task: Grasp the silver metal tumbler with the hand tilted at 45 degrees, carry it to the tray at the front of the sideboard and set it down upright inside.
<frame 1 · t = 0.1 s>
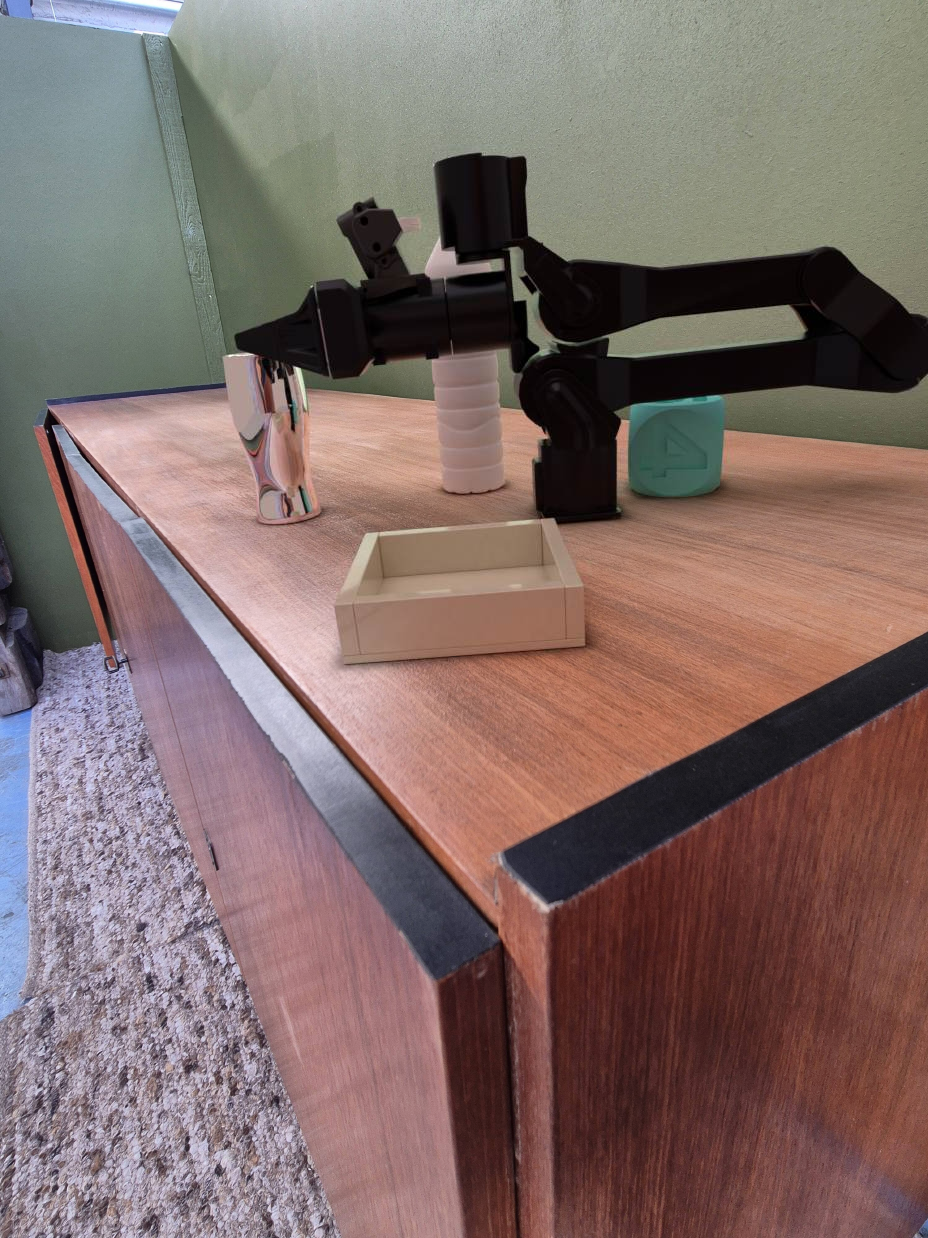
hand: (252, 339, 56), 16 cm above the table, tool horizontal, fingers open, 9 cm apart
water bottle: (463, 489, 74), on the table
silver metal tumbler: (290, 517, 69), on the table
decorative dice: (674, 489, 67), on the table, touching arm
tray: (463, 608, 44), on the table
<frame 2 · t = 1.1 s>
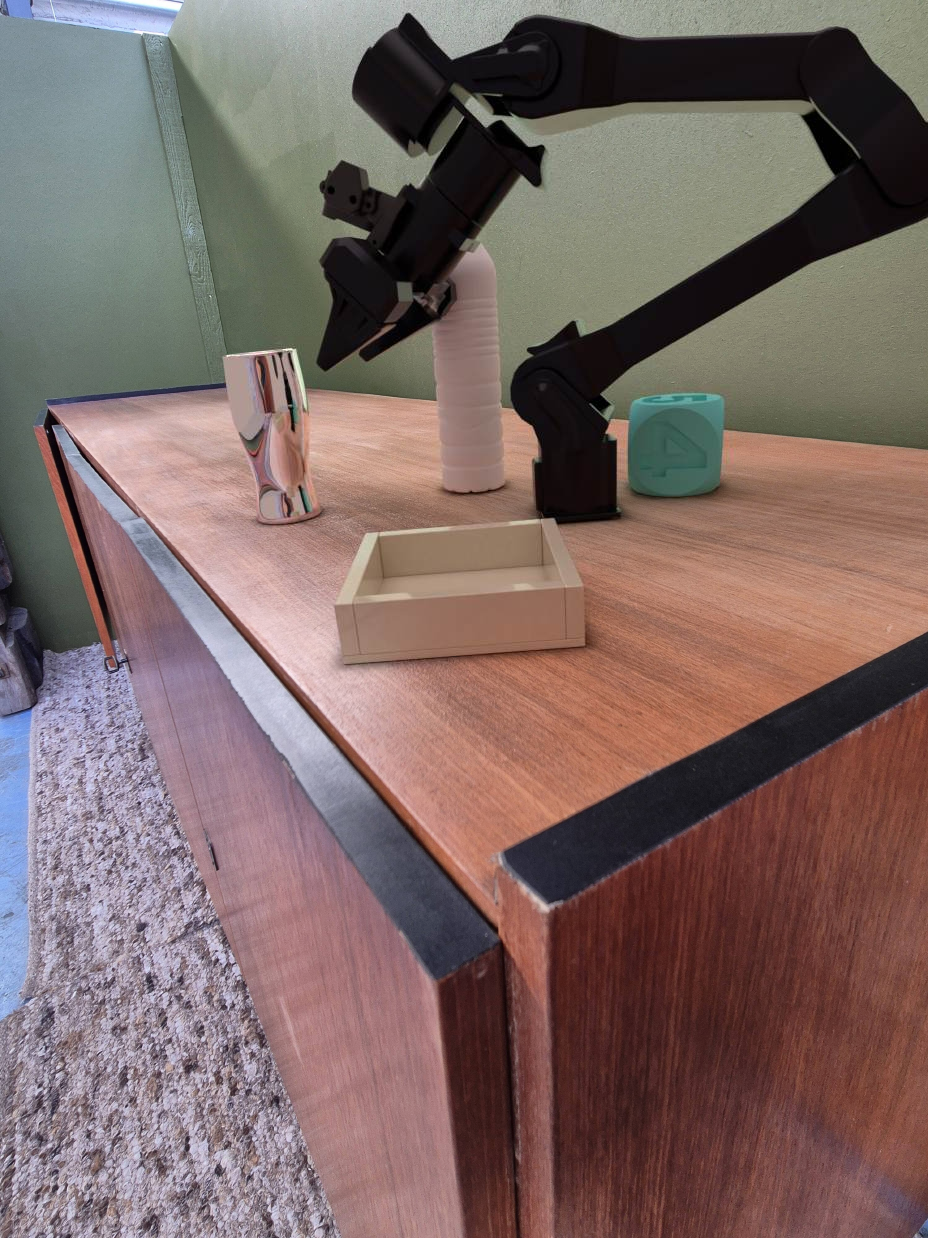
hand: (343, 362, 62), 14 cm above the table, tool tilted 45°, fingers open, 9 cm apart
water bottle: (463, 488, 74), on the table, touching gripper
decorative dice: (674, 488, 67), on the table
everything else where it was.
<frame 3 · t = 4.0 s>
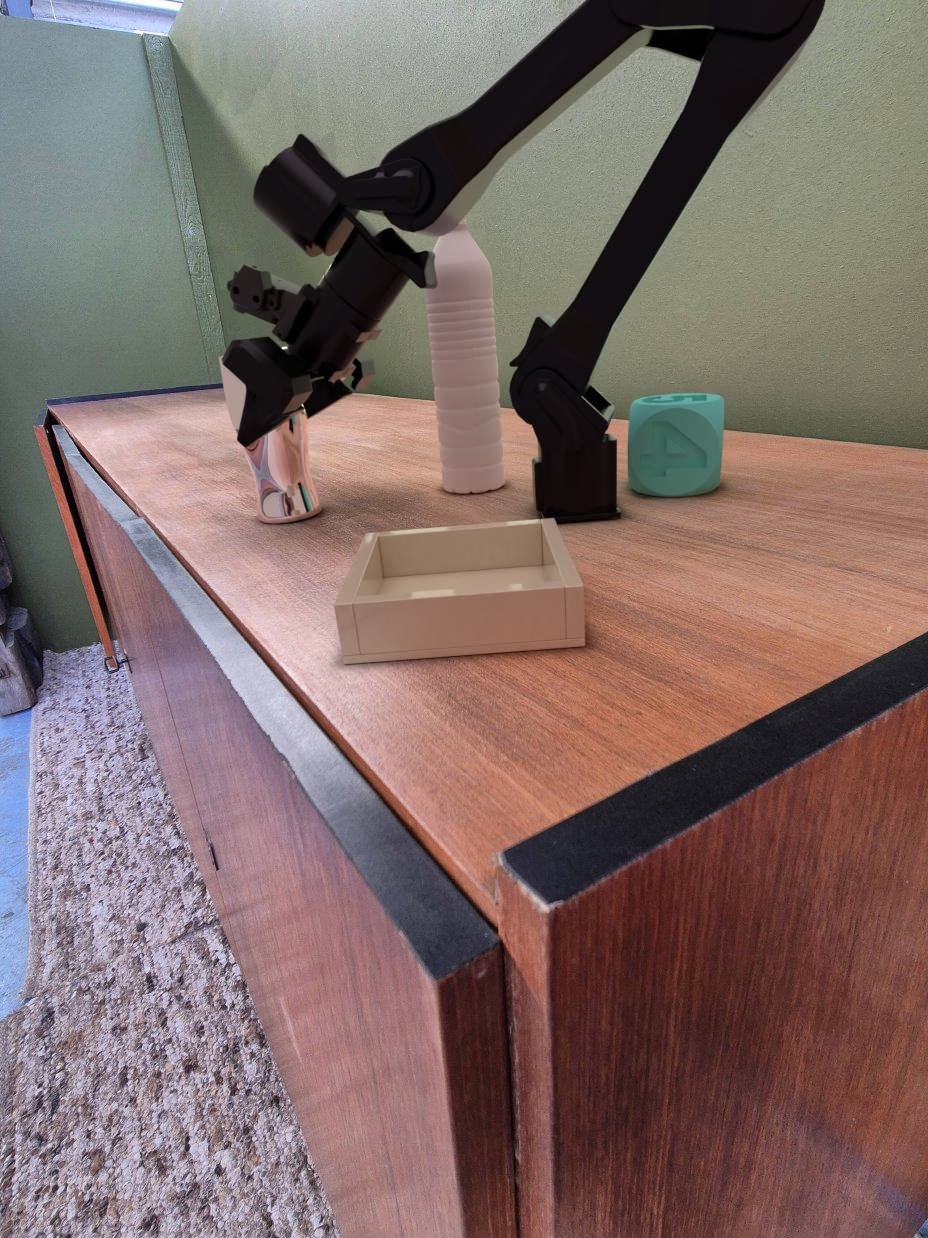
hand: (261, 436, 67), 8 cm above the table, tool tilted 45°, fingers closed on silver metal tumbler, 7 cm apart
water bottle: (463, 489, 74), on the table
silver metal tumbler: (291, 516, 70), on the table, touching gripper
everything else where it was.
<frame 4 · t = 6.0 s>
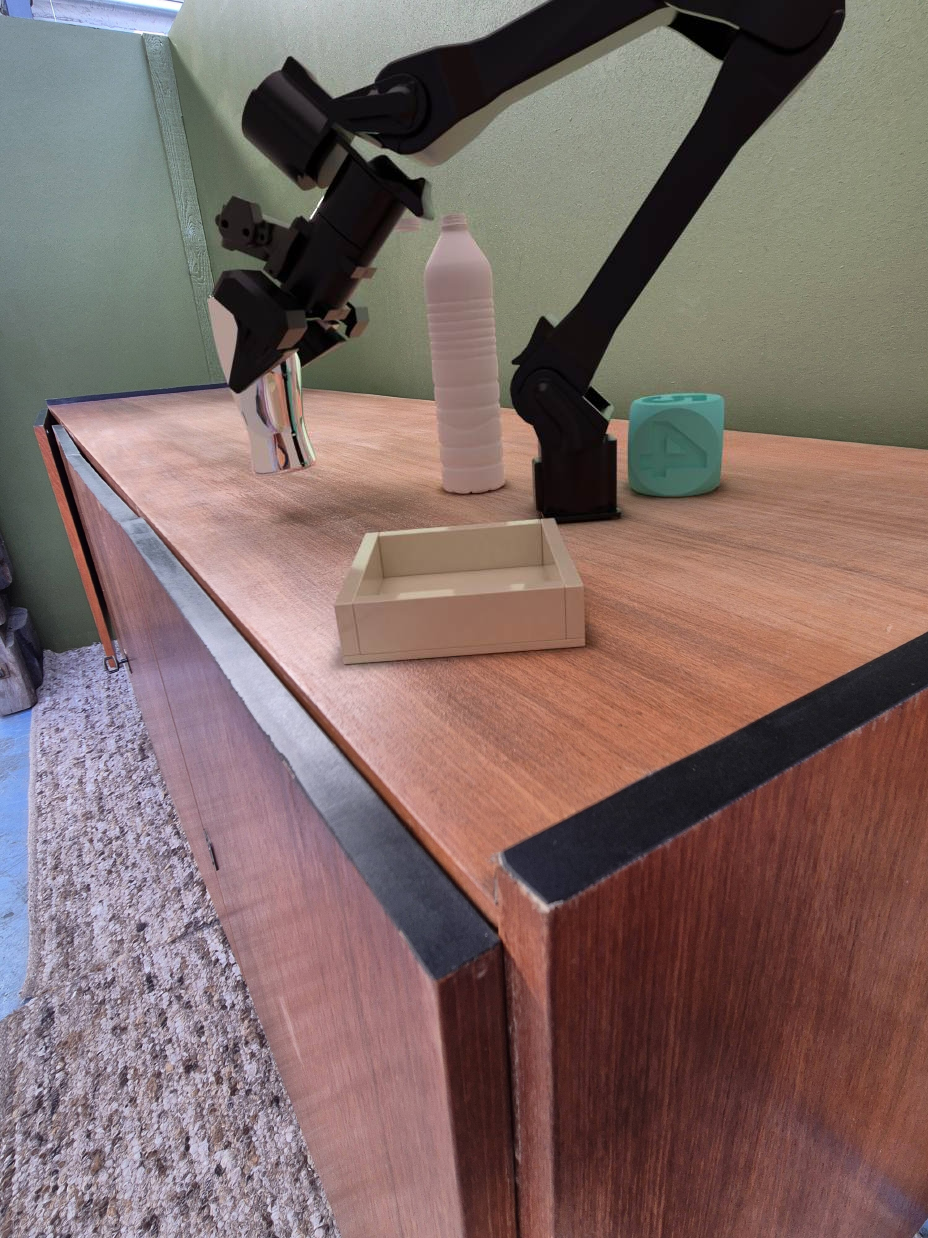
hand: (253, 385, 64), 12 cm above the table, tool tilted 45°, fingers closed on silver metal tumbler, 7 cm apart
silver metal tumbler: (286, 469, 67), point 5 cm above the table, touching gripper
everything else where it was.
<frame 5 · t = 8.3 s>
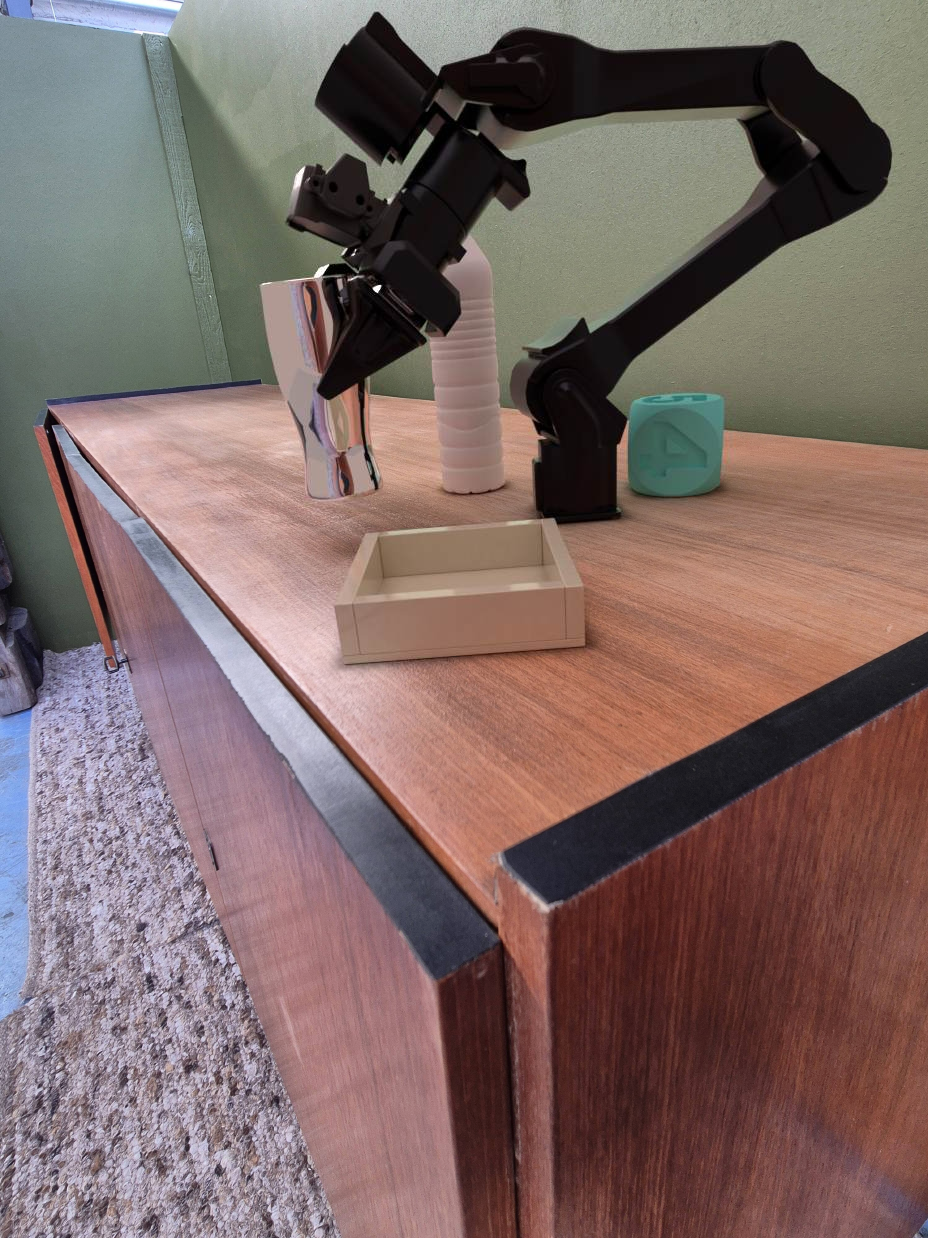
hand: (310, 393, 52), 12 cm above the table, tool tilted 45°, fingers closed on silver metal tumbler, 7 cm apart
silver metal tumbler: (345, 493, 56), point 5 cm above the table, touching gripper
everything else where it was.
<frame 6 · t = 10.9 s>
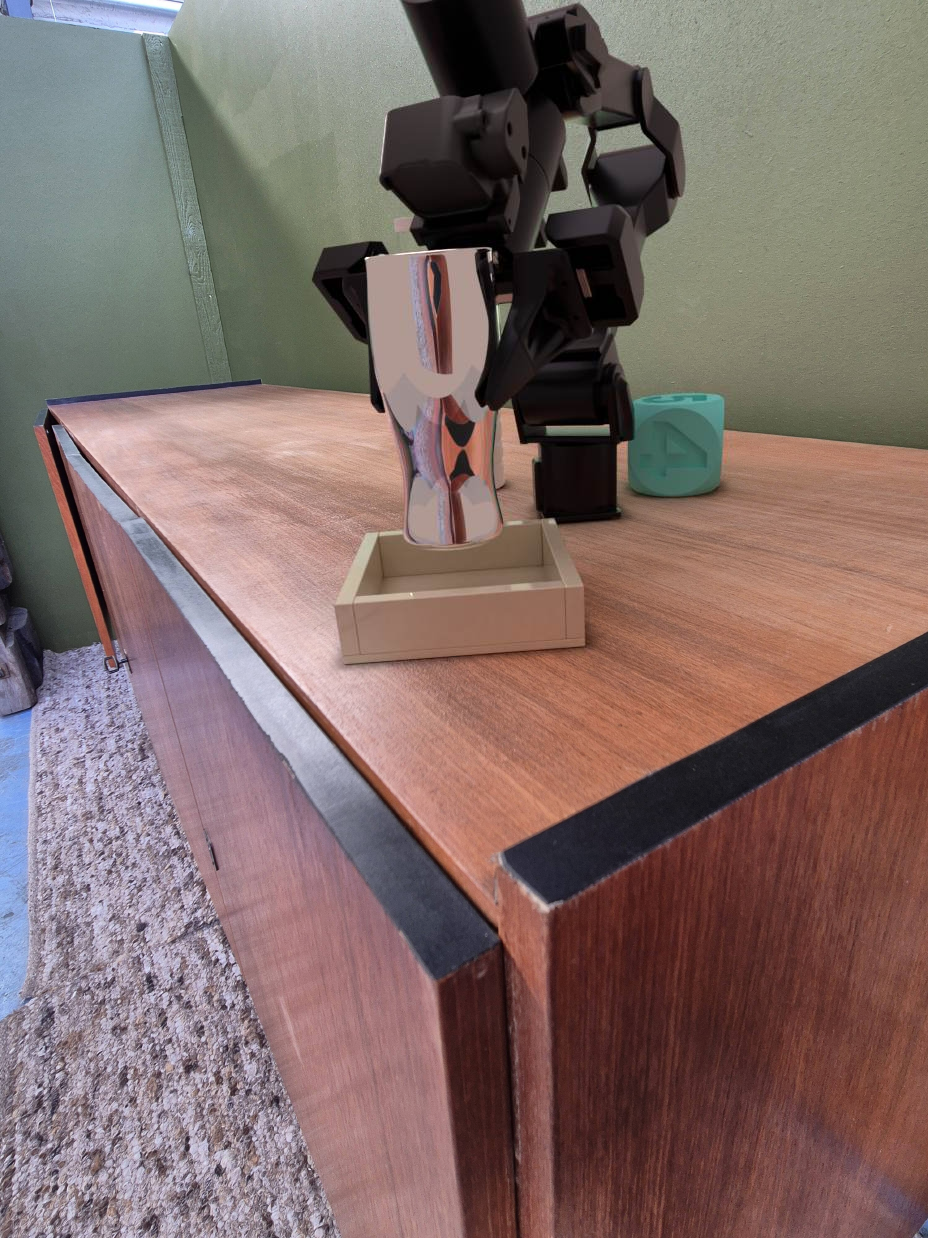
hand: (431, 407, 38), 12 cm above the table, tool tilted 45°, fingers closed on silver metal tumbler, 7 cm apart
silver metal tumbler: (453, 536, 43), point 5 cm above the table, touching gripper
everything else where it was.
when the fingers open (8 cm above the table, at t = 12.8 s): silver metal tumbler stays where it is, resting on tray.
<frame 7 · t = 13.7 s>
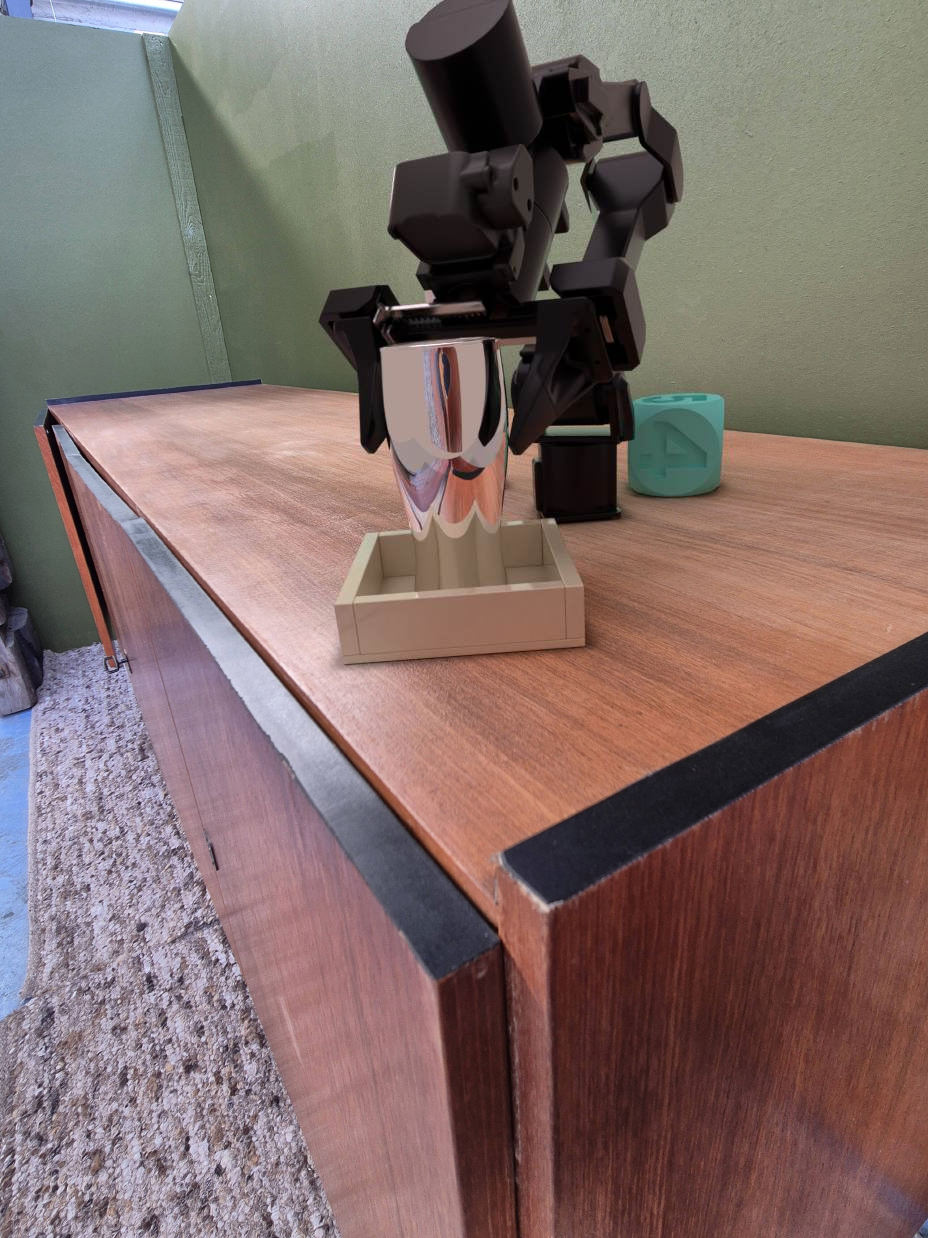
hand: (436, 450, 39), 10 cm above the table, tool tilted 45°, fingers open, 9 cm apart
silver metal tumbler: (462, 602, 44), resting on tray
everything else where it was.
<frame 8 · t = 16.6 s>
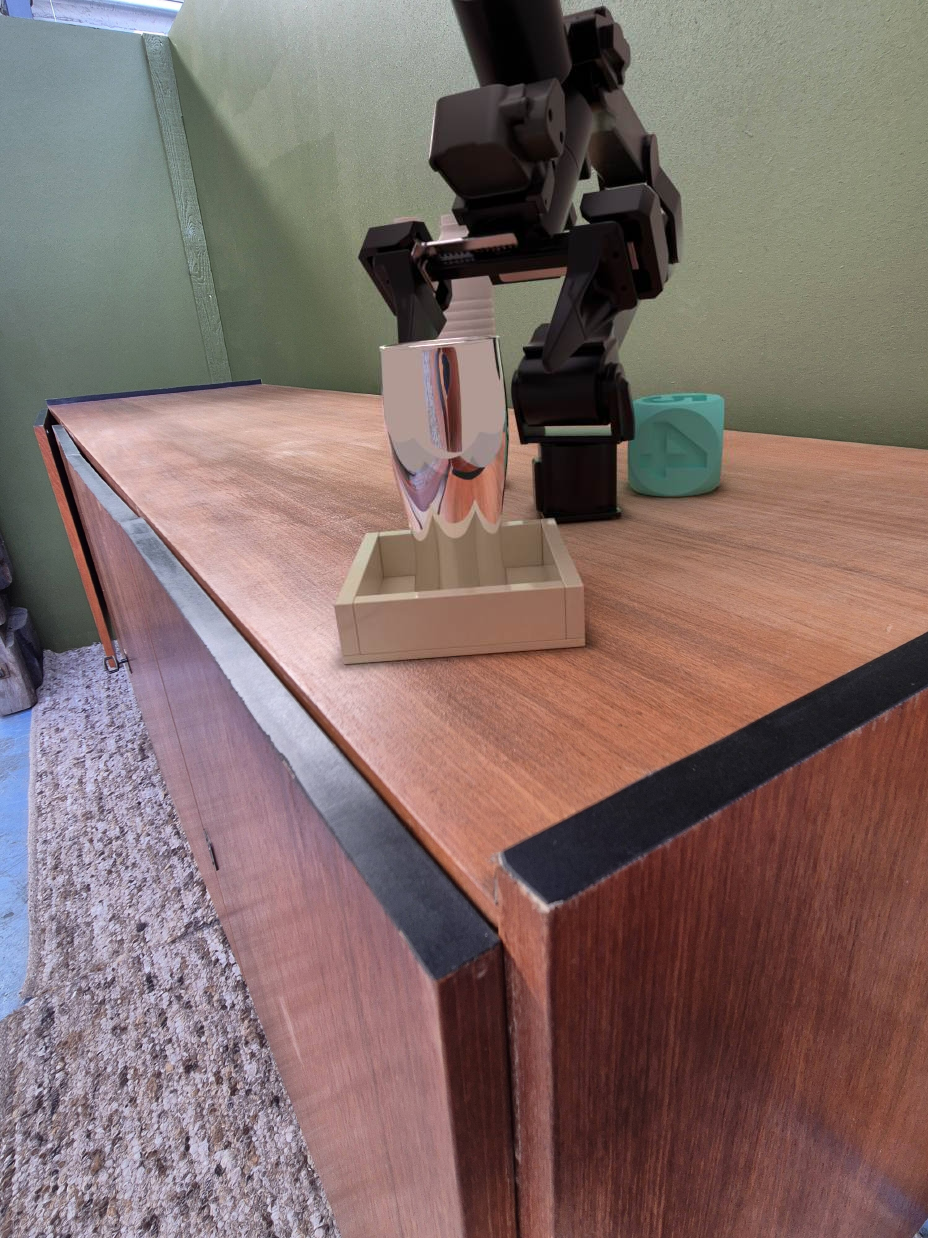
hand: (472, 371, 42), 14 cm above the table, tool tilted 45°, fingers open, 9 cm apart
nothing on the table moved.
at the end: silver metal tumbler inside the target area in the tray (0.4 cm from its centre), point 0.3 cm above the tray's base; silver metal tumbler tilted 0°; the gripper is holding nothing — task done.
